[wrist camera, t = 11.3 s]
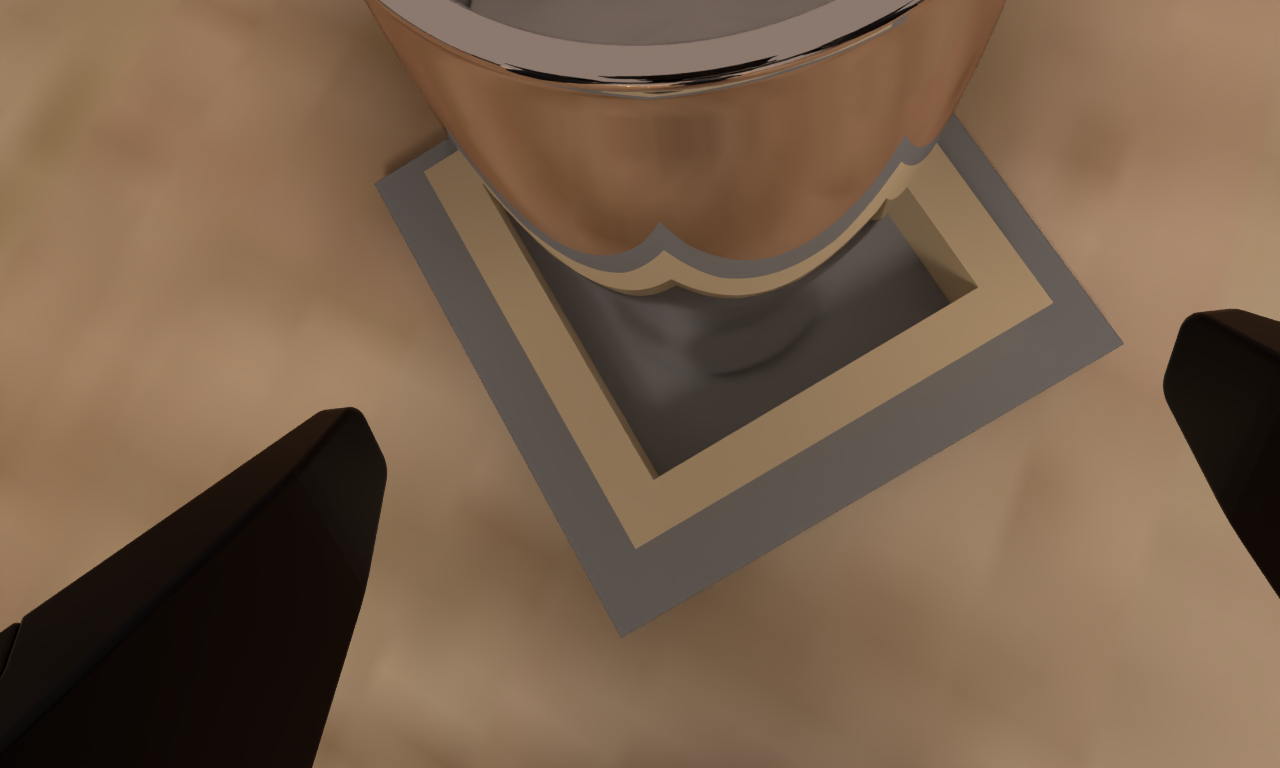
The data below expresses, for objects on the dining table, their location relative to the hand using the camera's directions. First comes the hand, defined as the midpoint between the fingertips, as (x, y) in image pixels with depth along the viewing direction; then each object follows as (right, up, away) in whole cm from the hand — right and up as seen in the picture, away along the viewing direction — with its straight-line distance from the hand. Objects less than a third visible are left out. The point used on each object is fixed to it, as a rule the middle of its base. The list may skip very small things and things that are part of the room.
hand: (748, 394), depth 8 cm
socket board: (+1, +4, +13) cm, 13 cm away
